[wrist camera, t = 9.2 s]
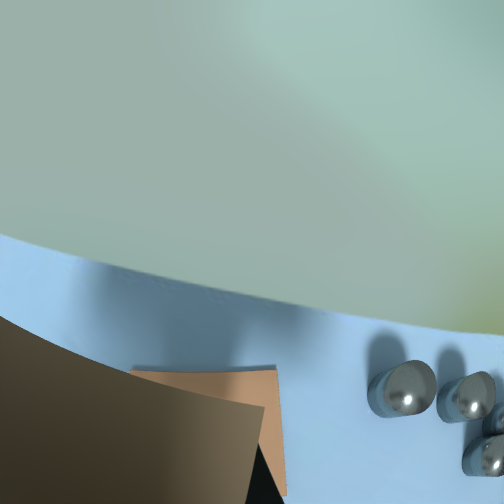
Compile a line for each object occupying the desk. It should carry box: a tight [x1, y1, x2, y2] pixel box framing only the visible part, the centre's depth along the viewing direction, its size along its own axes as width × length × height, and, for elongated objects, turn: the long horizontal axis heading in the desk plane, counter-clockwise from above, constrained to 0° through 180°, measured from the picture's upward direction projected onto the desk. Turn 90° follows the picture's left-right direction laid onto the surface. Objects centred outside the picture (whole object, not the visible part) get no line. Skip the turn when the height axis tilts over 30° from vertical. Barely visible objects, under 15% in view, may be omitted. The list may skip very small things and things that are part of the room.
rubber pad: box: [130, 369, 287, 496], centre depth 18 cm, size 11×10×1 cm
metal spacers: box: [368, 360, 504, 477], centre depth 17 cm, size 8×18×4 cm, turn 49°
